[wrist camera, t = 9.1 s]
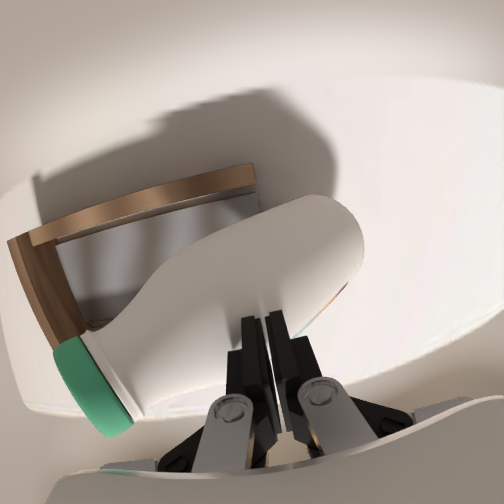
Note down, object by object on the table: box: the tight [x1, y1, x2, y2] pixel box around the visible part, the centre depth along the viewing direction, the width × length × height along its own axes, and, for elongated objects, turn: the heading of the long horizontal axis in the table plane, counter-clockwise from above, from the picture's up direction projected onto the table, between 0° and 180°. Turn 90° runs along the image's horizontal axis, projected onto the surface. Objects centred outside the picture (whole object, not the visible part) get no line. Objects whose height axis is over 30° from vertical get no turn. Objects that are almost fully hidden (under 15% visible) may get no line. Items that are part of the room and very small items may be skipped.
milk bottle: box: [53, 195, 364, 438], centre depth 16 cm, size 8×8×20 cm
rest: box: [7, 163, 261, 350], centre depth 22 cm, size 22×14×6 cm, turn 101°
